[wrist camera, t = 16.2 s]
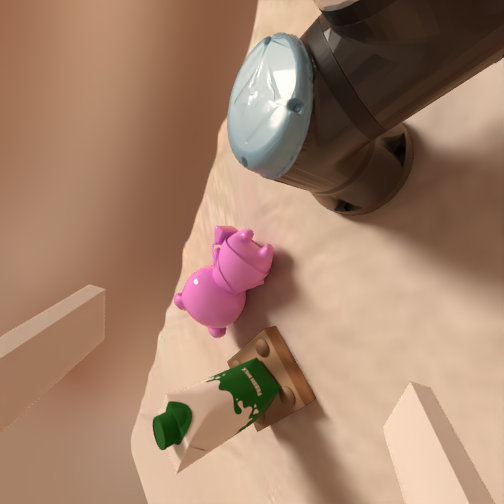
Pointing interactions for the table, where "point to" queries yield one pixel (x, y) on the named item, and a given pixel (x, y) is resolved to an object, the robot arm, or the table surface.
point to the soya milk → (212, 411)
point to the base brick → (276, 375)
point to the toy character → (225, 279)
